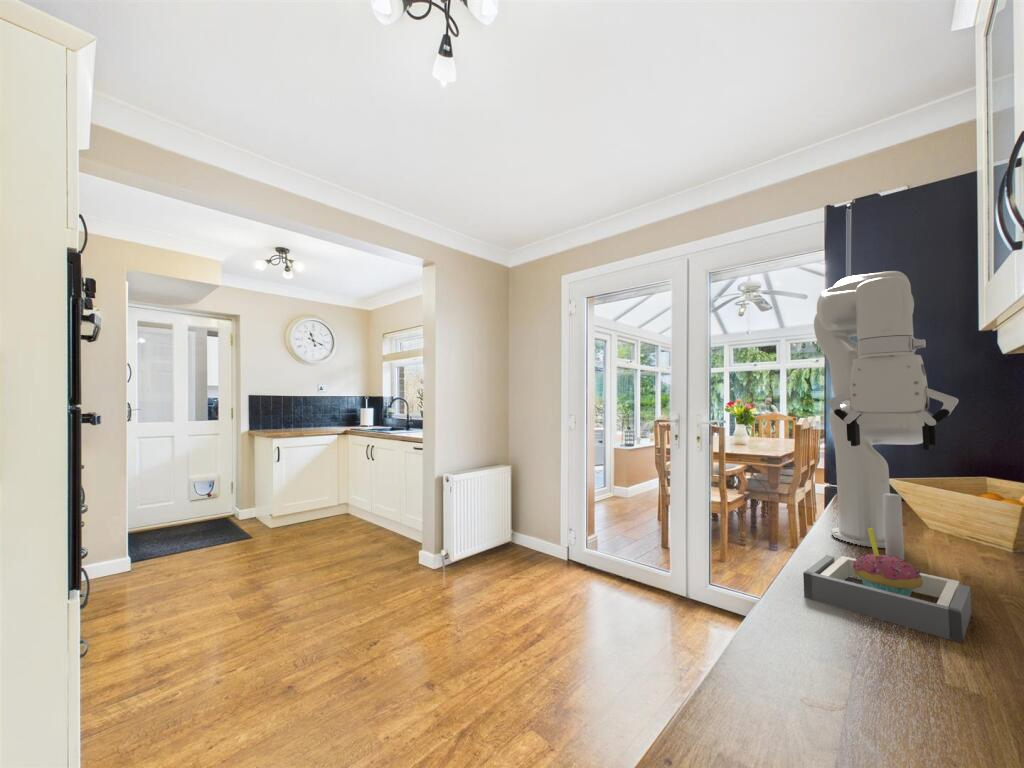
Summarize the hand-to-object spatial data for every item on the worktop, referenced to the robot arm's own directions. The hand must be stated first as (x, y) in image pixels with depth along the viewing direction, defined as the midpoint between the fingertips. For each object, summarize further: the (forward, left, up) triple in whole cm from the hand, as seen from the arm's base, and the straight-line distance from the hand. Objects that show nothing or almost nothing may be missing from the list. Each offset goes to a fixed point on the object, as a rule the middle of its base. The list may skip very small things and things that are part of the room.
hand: (890, 447), depth 76 cm
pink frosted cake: (+6, 0, -24) cm, 25 cm away
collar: (+6, 0, -24) cm, 25 cm away
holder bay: (+9, 0, -24) cm, 26 cm away
